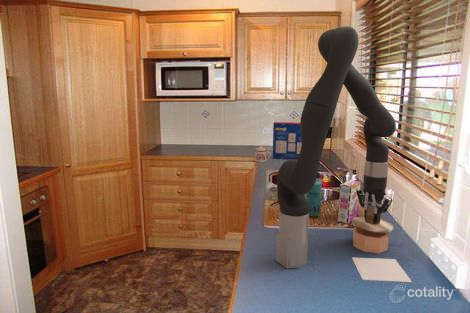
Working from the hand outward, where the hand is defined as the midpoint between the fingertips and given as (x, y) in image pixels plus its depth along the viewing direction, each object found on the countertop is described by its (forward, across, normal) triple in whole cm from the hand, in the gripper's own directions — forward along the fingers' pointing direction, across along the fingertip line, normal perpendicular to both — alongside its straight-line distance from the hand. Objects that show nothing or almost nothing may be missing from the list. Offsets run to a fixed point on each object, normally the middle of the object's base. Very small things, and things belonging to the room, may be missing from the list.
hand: (371, 221), depth 127 cm
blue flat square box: (+10, -139, +76) cm, 159 cm away
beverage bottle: (+10, -33, +3) cm, 35 cm away
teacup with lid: (+10, -141, +50) cm, 150 cm away
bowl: (+10, 0, 0) cm, 10 cm away
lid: (+2, 0, 0) cm, 2 cm away
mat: (+10, +13, -11) cm, 20 cm away
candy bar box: (+10, -23, +14) cm, 29 cm away
